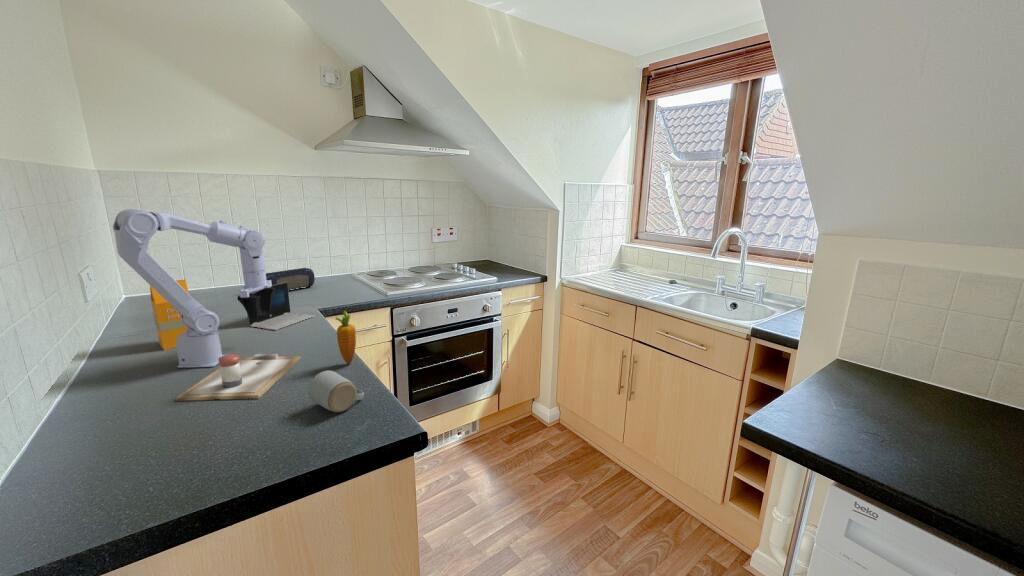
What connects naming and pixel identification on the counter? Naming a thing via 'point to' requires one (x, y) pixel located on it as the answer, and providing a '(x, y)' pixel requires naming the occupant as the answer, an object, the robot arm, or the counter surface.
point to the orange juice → (167, 318)
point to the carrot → (346, 338)
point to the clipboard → (243, 379)
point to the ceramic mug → (333, 391)
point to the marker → (230, 370)
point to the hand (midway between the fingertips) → (260, 314)
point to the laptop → (277, 311)
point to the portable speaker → (292, 278)
